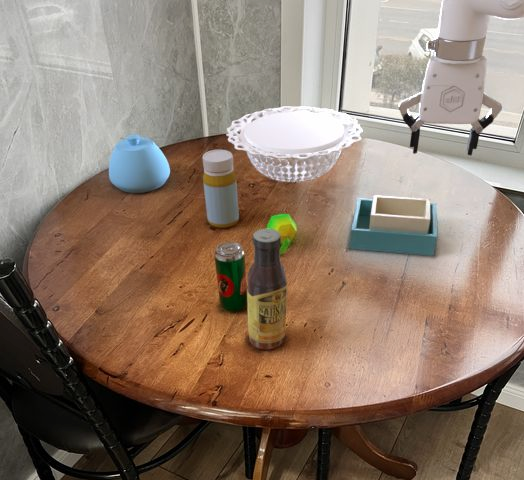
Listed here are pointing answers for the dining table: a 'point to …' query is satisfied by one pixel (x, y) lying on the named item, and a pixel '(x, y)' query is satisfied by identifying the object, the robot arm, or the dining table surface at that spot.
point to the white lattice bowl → (294, 140)
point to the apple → (283, 229)
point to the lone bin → (400, 214)
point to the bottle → (220, 188)
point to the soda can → (231, 276)
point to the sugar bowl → (138, 165)
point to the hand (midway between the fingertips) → (441, 151)
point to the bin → (390, 234)
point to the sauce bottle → (266, 292)
